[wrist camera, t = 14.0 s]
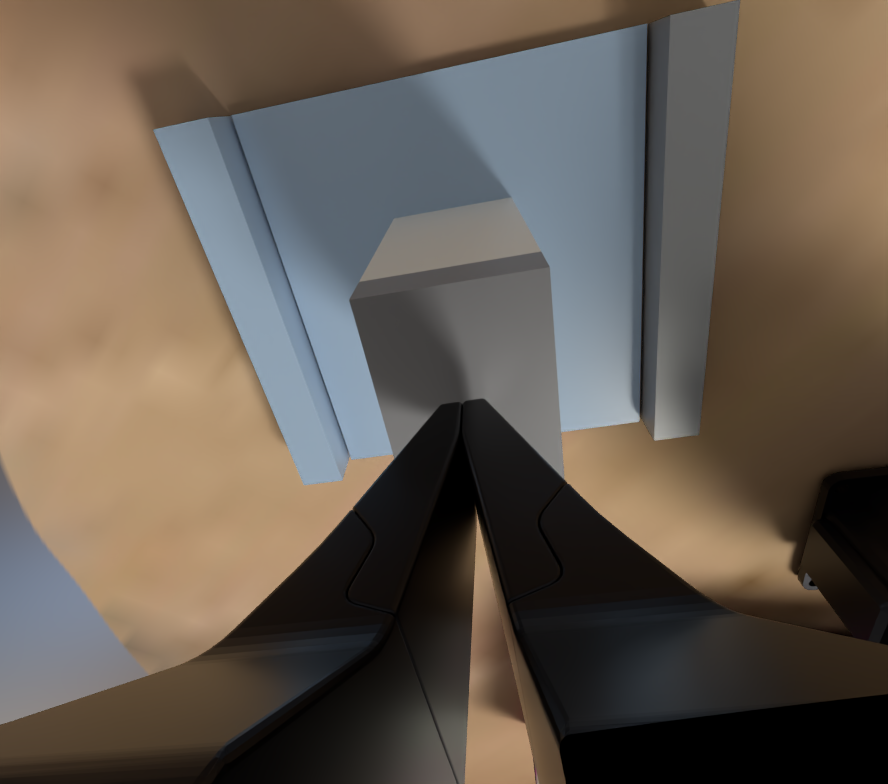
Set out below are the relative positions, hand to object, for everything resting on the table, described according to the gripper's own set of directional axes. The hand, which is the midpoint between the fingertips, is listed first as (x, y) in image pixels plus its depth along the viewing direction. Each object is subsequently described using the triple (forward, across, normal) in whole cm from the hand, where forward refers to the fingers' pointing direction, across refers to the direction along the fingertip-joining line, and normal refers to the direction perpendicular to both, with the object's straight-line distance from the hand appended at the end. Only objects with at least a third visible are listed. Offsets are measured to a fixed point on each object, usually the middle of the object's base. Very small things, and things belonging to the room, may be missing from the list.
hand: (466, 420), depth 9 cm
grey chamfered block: (+8, 0, 0) cm, 8 cm away
